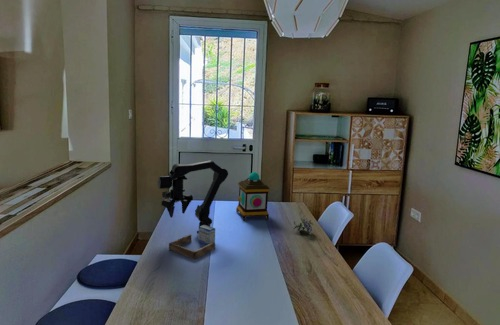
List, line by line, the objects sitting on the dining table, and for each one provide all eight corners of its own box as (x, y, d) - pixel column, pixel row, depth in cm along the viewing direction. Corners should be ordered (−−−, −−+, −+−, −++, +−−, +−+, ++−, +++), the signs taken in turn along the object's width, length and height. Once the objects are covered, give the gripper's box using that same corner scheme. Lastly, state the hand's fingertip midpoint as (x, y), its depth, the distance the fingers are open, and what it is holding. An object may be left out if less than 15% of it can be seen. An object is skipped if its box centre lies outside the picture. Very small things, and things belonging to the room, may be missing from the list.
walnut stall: (189, 240, 195) (190, 234, 195) (214, 248, 186) (215, 242, 186) (169, 249, 182) (169, 243, 182) (194, 259, 173) (194, 252, 173)
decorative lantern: (233, 211, 247) (235, 168, 242) (261, 210, 253) (263, 168, 248) (241, 221, 229) (244, 175, 223) (271, 220, 234) (274, 174, 229)
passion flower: (308, 243, 214) (314, 232, 206) (290, 238, 214) (296, 227, 206) (309, 227, 222) (315, 216, 214) (291, 223, 222) (297, 211, 214)
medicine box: (198, 242, 194) (198, 226, 192) (203, 239, 198) (204, 224, 196) (209, 245, 190) (210, 230, 188) (215, 243, 194) (215, 227, 192)
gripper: (178, 182, 207) (178, 208, 210) (154, 188, 192) (154, 216, 194) (193, 185, 201) (193, 212, 204) (169, 192, 186) (169, 221, 189)
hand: (177, 215), depth 198 cm, fingers open, 9 cm apart
